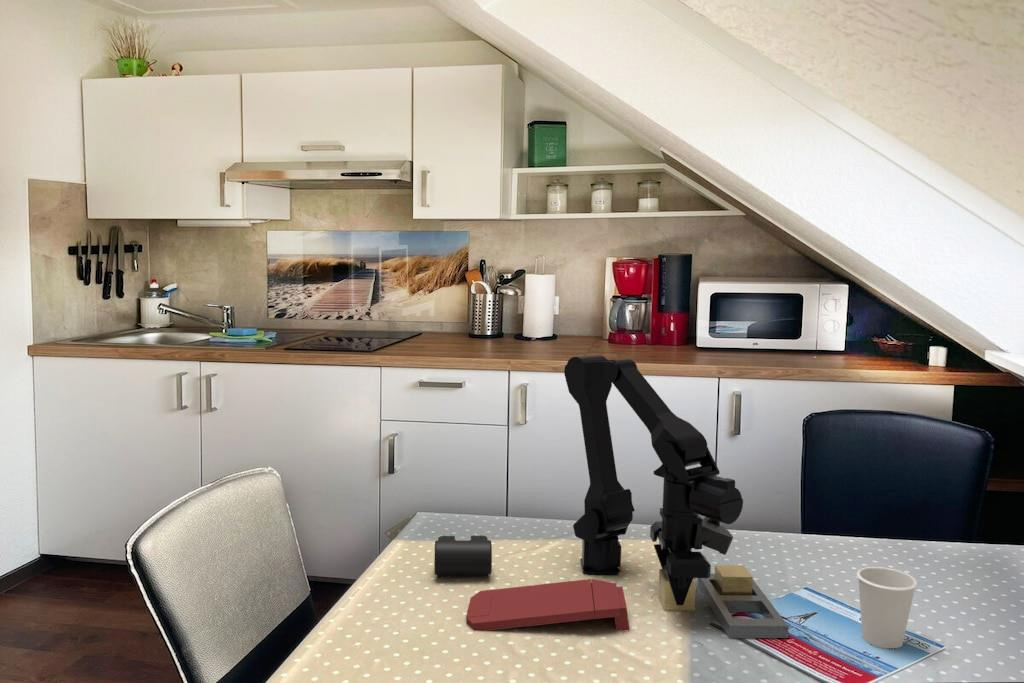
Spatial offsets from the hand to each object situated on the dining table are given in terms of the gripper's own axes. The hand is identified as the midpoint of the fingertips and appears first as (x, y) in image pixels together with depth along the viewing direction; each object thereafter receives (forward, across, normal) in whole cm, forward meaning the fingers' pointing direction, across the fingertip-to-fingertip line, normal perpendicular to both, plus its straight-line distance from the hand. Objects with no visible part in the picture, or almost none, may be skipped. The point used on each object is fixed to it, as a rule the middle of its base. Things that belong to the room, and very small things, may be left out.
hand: (676, 597), depth 137 cm
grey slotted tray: (+1, -2, -10) cm, 10 cm away
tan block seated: (+1, +2, -10) cm, 10 cm away
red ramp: (+2, -5, +22) cm, 22 cm away
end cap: (+1, +11, +36) cm, 38 cm away
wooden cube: (+1, 0, 0) cm, 1 cm away
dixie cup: (+1, -12, -29) cm, 31 cm away
